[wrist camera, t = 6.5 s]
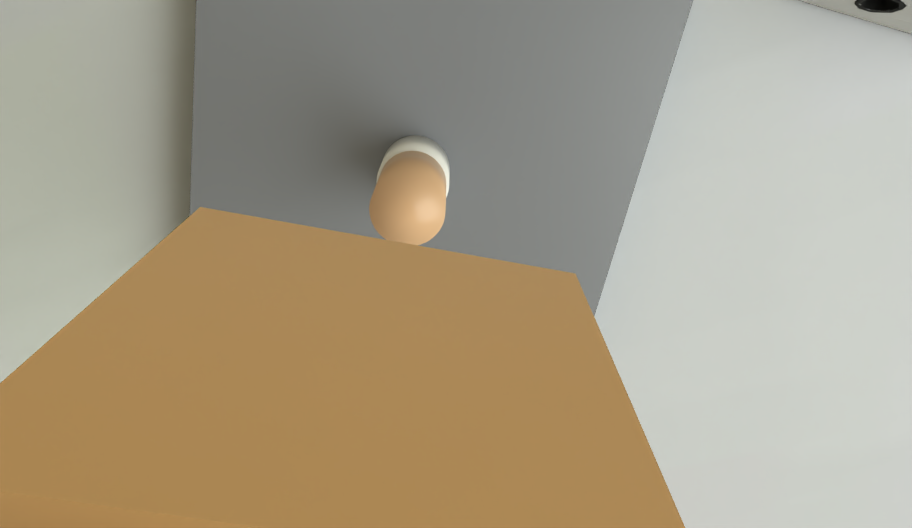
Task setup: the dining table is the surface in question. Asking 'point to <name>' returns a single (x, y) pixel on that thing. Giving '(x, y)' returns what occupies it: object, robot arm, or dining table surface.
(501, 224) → the plate
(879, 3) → the electrical switch
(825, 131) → the dining table surface
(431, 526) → the tan cardboard cube
